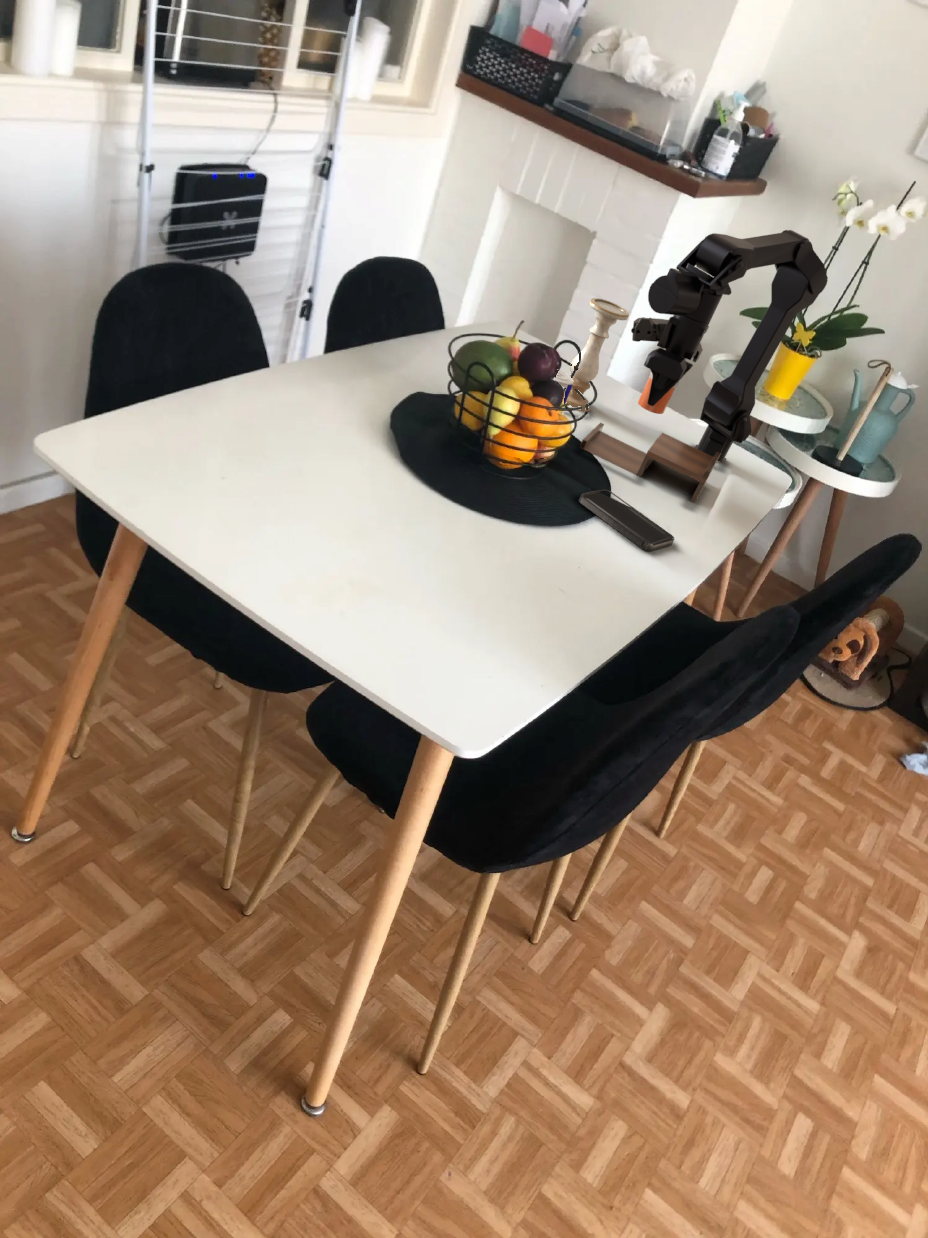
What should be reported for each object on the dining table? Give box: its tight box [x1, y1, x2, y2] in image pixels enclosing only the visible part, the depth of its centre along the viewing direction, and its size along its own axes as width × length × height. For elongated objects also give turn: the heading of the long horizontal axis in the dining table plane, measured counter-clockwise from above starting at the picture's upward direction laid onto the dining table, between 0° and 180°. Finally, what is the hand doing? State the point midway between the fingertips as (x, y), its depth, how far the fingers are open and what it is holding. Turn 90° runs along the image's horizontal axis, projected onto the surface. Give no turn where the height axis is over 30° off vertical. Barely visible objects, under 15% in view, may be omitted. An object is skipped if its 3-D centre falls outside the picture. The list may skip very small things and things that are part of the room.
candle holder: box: [566, 297, 630, 413], centre depth 188 cm, size 9×9×20 cm
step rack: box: [579, 422, 721, 504], centre depth 177 cm, size 12×22×7 cm, turn 66°
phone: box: [578, 488, 675, 552], centre depth 158 cm, size 8×1×15 cm
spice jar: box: [637, 371, 680, 415], centre depth 172 cm, size 5×5×6 cm
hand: (653, 401), depth 173 cm, fingers closed on spice jar, 5 cm apart
